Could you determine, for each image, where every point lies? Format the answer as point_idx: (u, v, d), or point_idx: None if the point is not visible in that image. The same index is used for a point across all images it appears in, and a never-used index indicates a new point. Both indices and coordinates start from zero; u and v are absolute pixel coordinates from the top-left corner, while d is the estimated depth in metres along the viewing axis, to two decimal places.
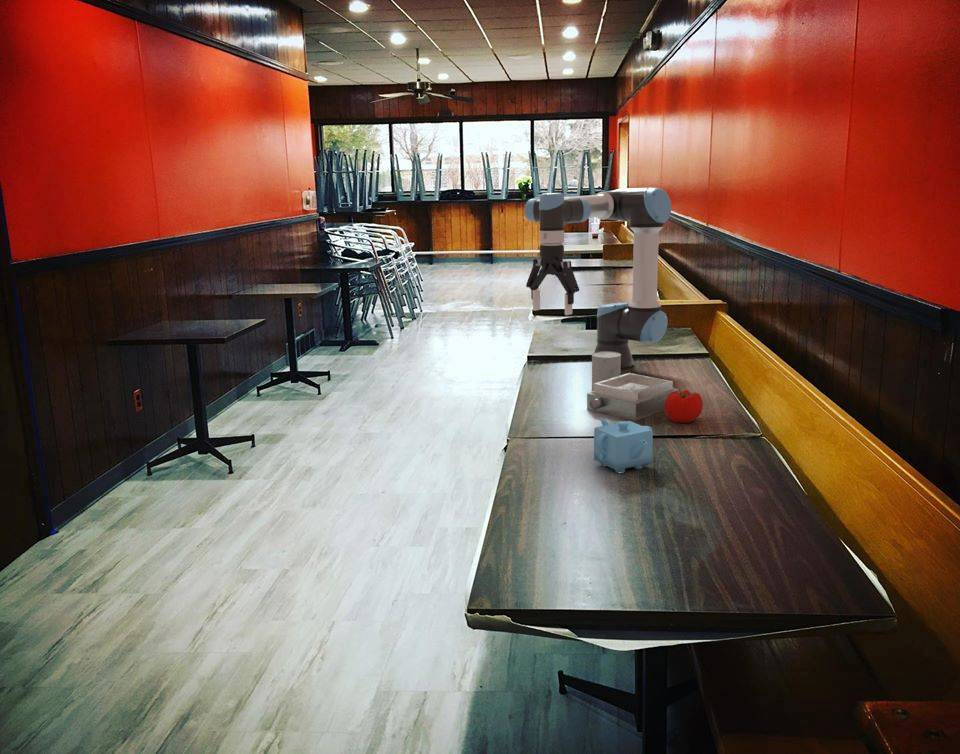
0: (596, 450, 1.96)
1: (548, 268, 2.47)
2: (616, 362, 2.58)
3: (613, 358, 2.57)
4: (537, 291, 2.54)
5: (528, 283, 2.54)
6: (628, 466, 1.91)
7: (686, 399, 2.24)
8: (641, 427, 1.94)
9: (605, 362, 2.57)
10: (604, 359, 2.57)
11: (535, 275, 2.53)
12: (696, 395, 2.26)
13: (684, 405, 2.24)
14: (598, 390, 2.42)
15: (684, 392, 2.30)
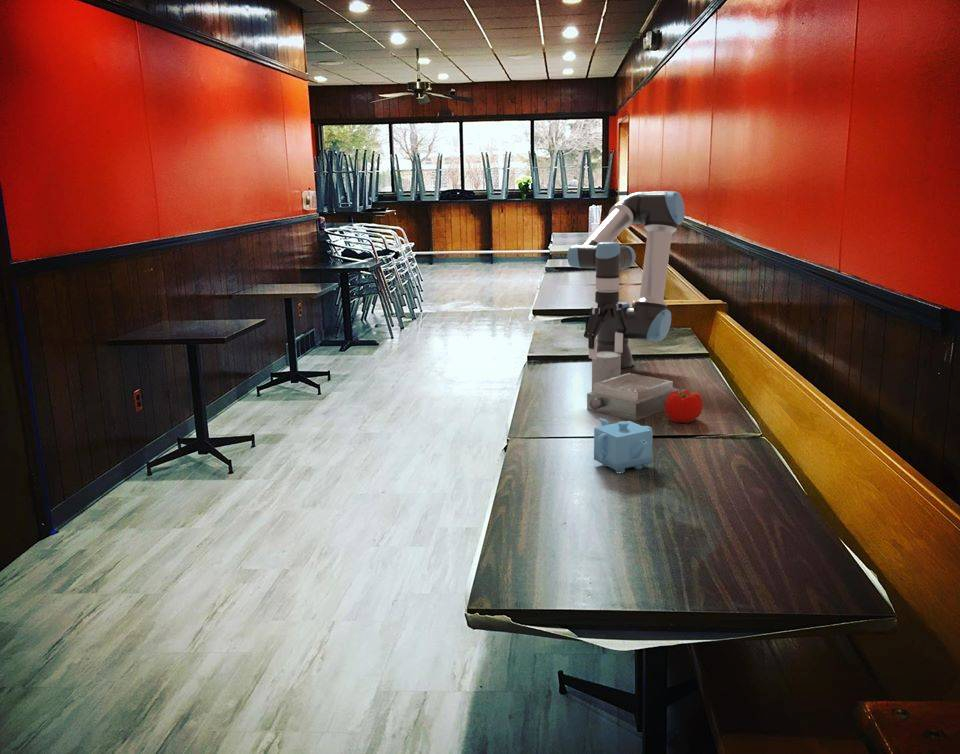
0: (596, 450, 1.96)
1: None
2: (616, 362, 2.58)
3: (613, 358, 2.57)
4: (618, 334, 2.64)
5: None
6: (628, 466, 1.91)
7: (686, 399, 2.24)
8: (641, 427, 1.94)
9: (605, 362, 2.57)
10: (604, 359, 2.57)
11: (620, 319, 2.63)
12: (696, 395, 2.26)
13: (684, 405, 2.24)
14: (598, 390, 2.42)
15: (684, 392, 2.30)
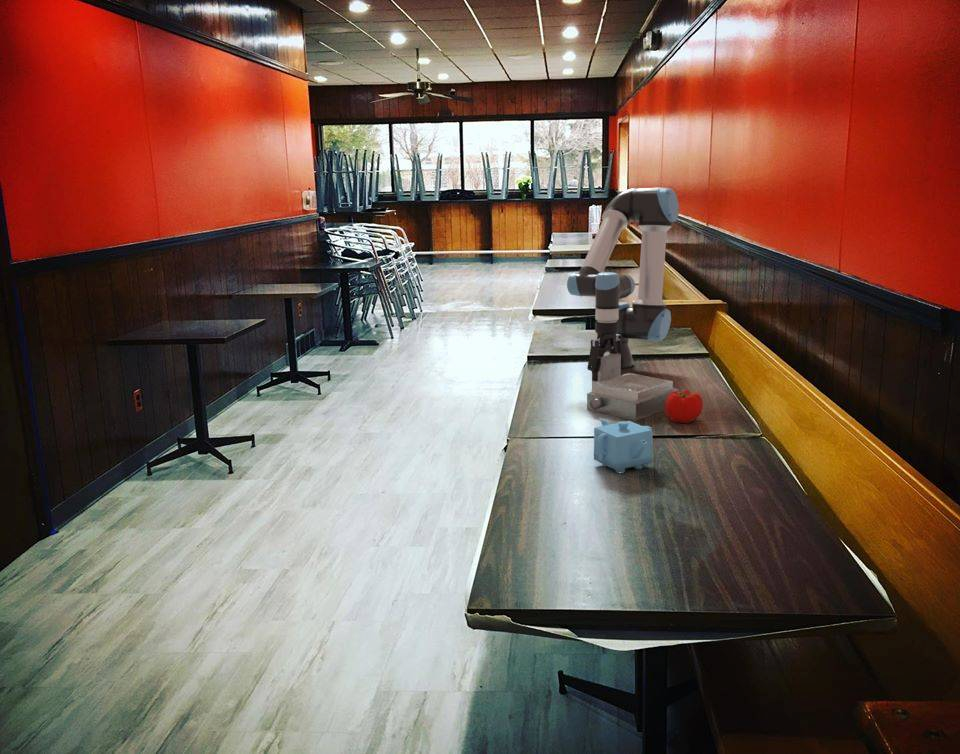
0: (596, 450, 1.96)
1: None
2: (616, 362, 2.58)
3: (613, 358, 2.57)
4: None
5: None
6: (628, 466, 1.91)
7: (686, 399, 2.24)
8: (641, 427, 1.94)
9: (605, 362, 2.57)
10: (604, 359, 2.57)
11: (618, 350, 2.65)
12: (696, 395, 2.26)
13: (684, 405, 2.24)
14: (598, 390, 2.42)
15: (684, 392, 2.30)
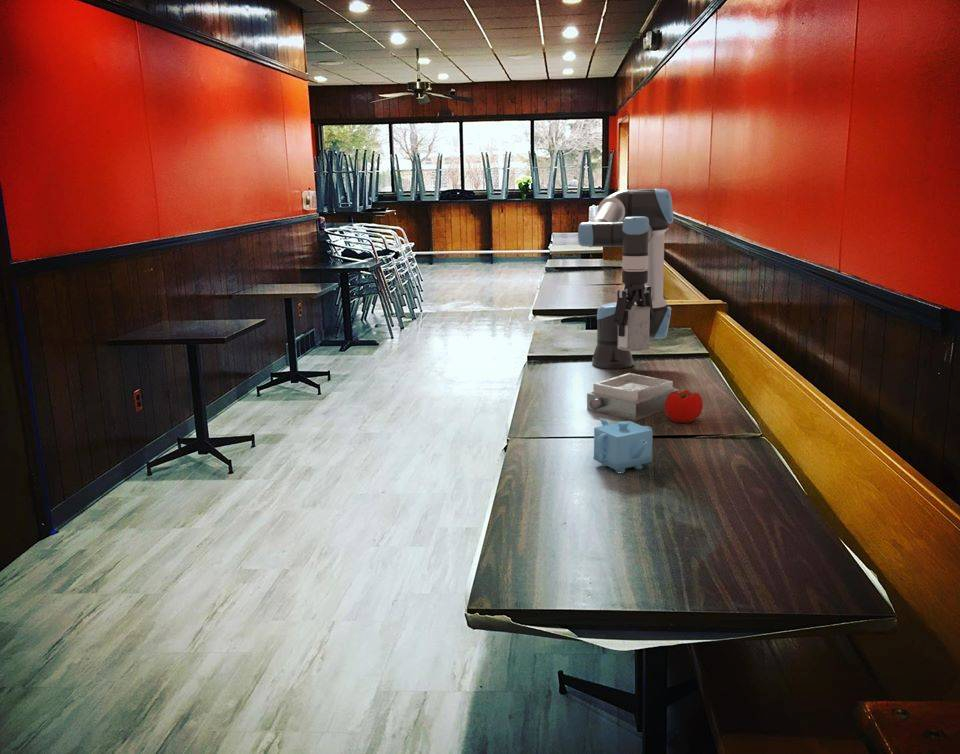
0: (596, 450, 1.96)
1: None
2: (645, 315, 2.34)
3: (642, 310, 2.33)
4: None
5: None
6: (628, 466, 1.91)
7: (686, 399, 2.24)
8: (641, 427, 1.94)
9: (633, 315, 2.33)
10: (632, 312, 2.33)
11: (646, 304, 2.41)
12: (696, 395, 2.26)
13: (684, 405, 2.24)
14: (598, 390, 2.42)
15: (684, 392, 2.30)
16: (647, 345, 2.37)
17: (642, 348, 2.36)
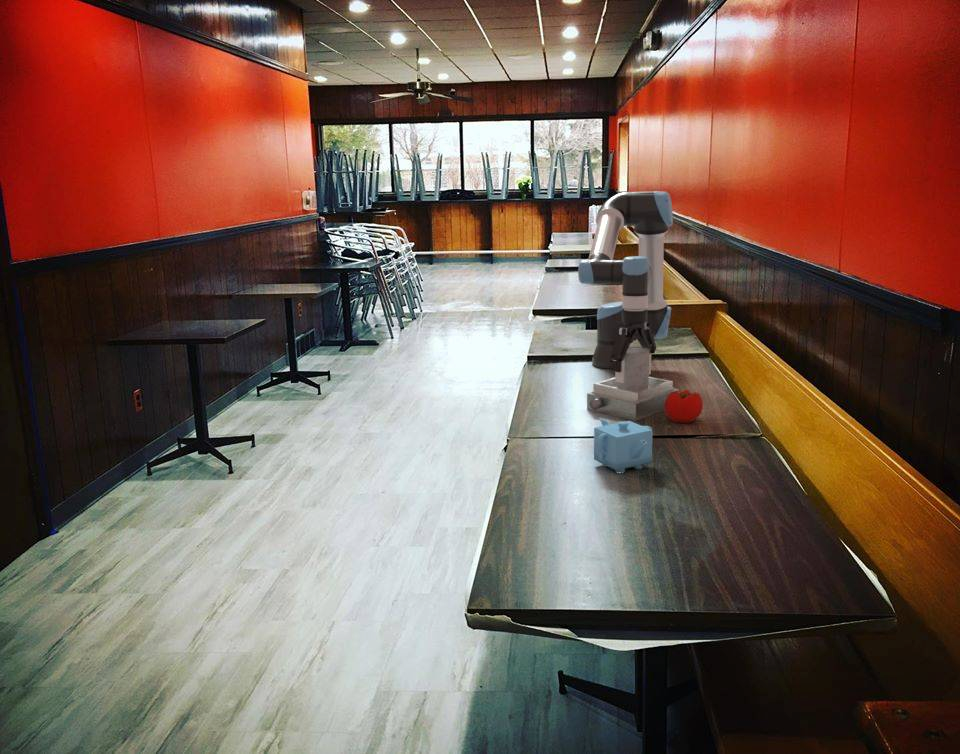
0: (596, 450, 1.96)
1: None
2: (645, 358, 2.37)
3: (641, 354, 2.36)
4: None
5: None
6: (628, 466, 1.91)
7: (686, 399, 2.24)
8: (641, 427, 1.94)
9: (633, 359, 2.37)
10: (632, 355, 2.36)
11: (648, 338, 2.45)
12: (696, 395, 2.26)
13: (684, 405, 2.24)
14: (598, 390, 2.42)
15: (684, 392, 2.30)
16: (647, 387, 2.41)
17: None
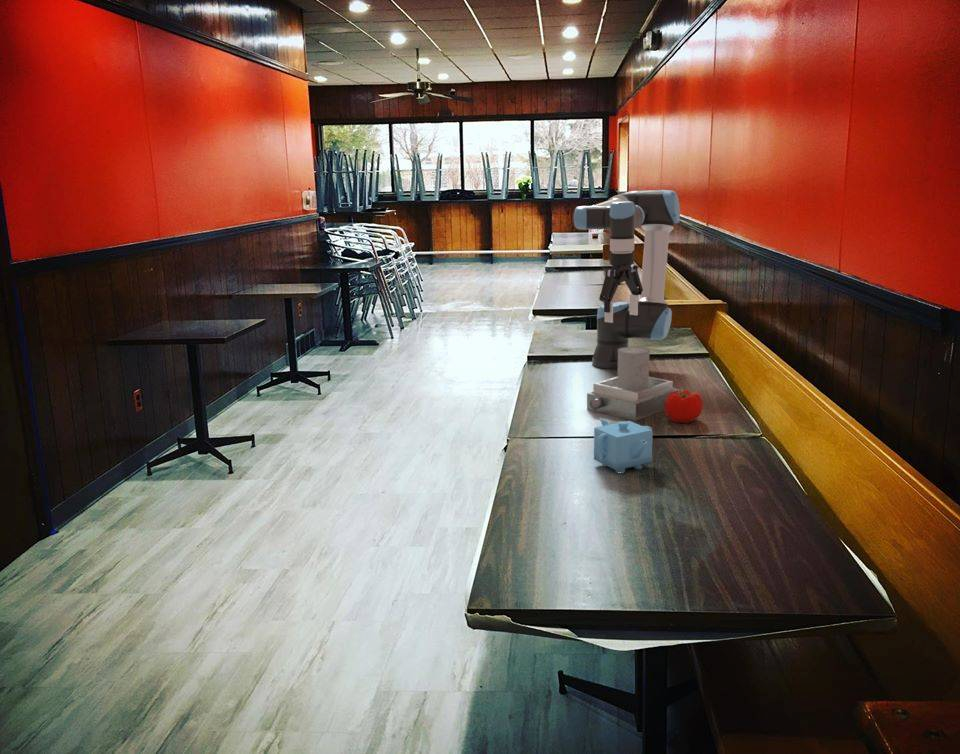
0: (596, 450, 1.96)
1: None
2: (645, 358, 2.37)
3: (641, 354, 2.36)
4: (633, 296, 2.57)
5: None
6: (628, 466, 1.91)
7: (686, 399, 2.24)
8: (641, 427, 1.94)
9: (633, 359, 2.37)
10: (632, 355, 2.36)
11: (635, 280, 2.56)
12: (696, 395, 2.26)
13: (684, 405, 2.24)
14: (598, 390, 2.42)
15: (684, 392, 2.30)
16: (647, 387, 2.41)
17: None
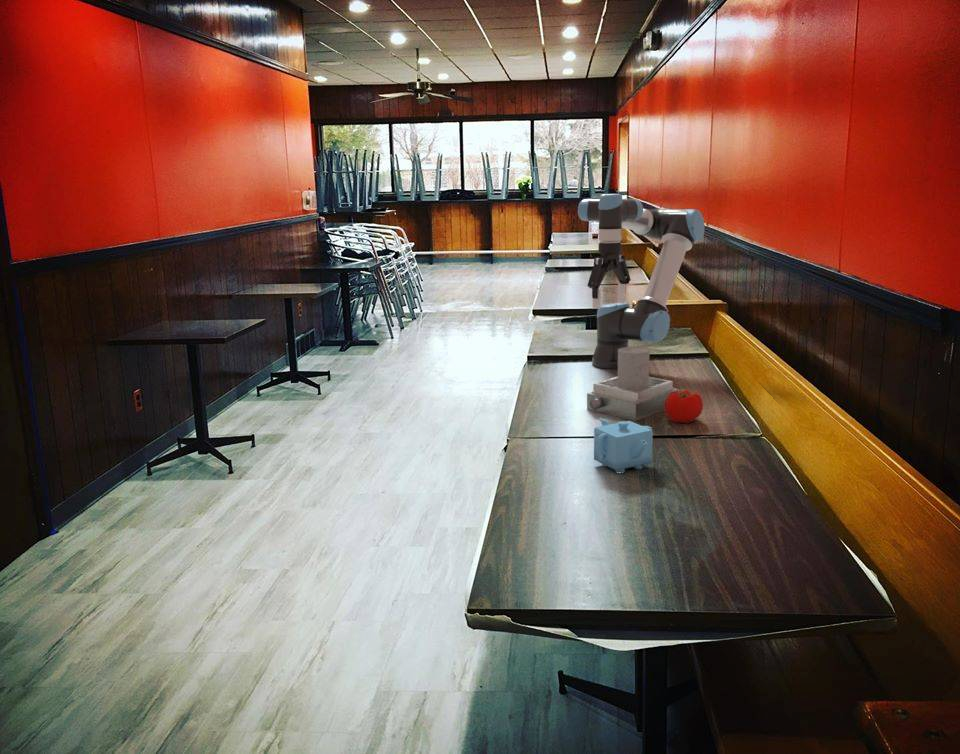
0: (596, 450, 1.96)
1: None
2: (645, 358, 2.37)
3: (641, 354, 2.36)
4: (621, 285, 2.71)
5: None
6: (628, 466, 1.91)
7: (686, 399, 2.24)
8: (641, 427, 1.94)
9: (633, 359, 2.37)
10: (632, 355, 2.36)
11: (623, 270, 2.70)
12: (696, 395, 2.26)
13: (684, 405, 2.24)
14: (598, 390, 2.42)
15: (684, 392, 2.30)
16: (647, 387, 2.41)
17: None
